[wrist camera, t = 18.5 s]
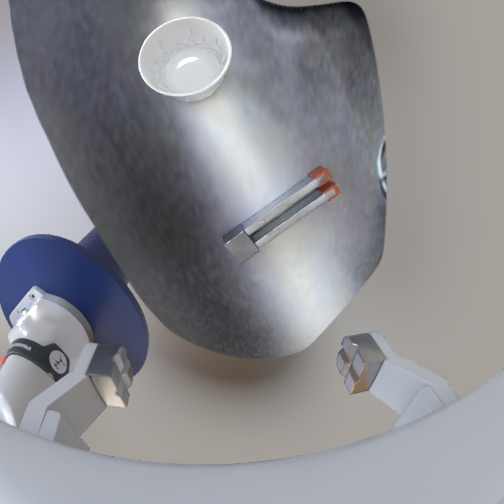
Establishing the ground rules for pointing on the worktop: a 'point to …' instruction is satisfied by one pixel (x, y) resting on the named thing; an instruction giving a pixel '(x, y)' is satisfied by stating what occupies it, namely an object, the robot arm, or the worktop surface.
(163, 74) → the white cup
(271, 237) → the tongs
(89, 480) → the robot arm
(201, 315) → the worktop surface
